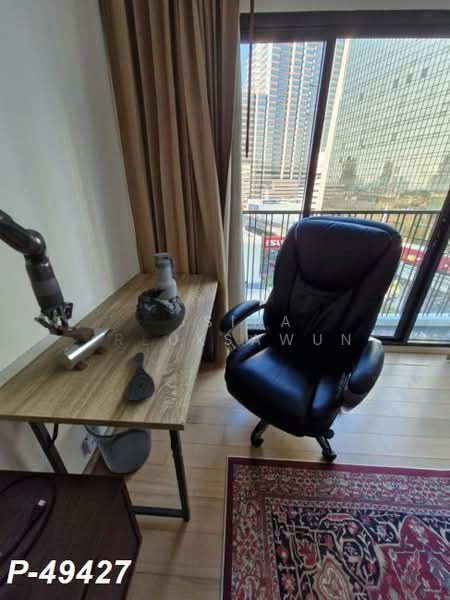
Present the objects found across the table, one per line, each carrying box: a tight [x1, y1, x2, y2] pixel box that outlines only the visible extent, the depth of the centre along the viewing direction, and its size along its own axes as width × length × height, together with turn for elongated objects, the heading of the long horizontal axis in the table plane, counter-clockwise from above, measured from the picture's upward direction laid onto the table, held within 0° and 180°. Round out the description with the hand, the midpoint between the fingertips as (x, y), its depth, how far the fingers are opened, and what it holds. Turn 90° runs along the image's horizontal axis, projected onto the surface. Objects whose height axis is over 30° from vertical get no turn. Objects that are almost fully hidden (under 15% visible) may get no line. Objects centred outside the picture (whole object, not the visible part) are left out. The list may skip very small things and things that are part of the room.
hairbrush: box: [126, 351, 156, 403], centre depth 81 cm, size 8×4×25 cm
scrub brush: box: [47, 324, 95, 342], centre depth 90 cm, size 19×4×3 cm, turn 70°
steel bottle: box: [56, 326, 113, 371], centre depth 92 cm, size 20×8×8 cm, turn 159°
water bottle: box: [153, 252, 178, 300], centre depth 117 cm, size 10×10×28 cm
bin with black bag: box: [134, 287, 186, 336], centre depth 102 cm, size 20×20×19 cm
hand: (62, 333), depth 92 cm, fingers closed on scrub brush, 2 cm apart
